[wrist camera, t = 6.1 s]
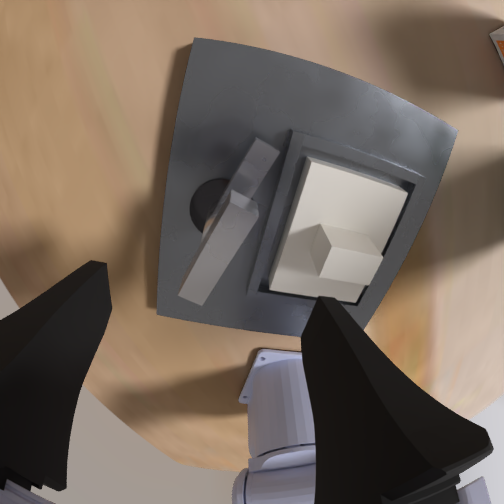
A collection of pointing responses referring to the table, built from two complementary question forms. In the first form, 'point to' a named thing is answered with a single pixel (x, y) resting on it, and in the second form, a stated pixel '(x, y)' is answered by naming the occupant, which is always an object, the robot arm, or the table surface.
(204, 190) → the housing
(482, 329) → the table surface
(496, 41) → the skincare box
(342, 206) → the cover
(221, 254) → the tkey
